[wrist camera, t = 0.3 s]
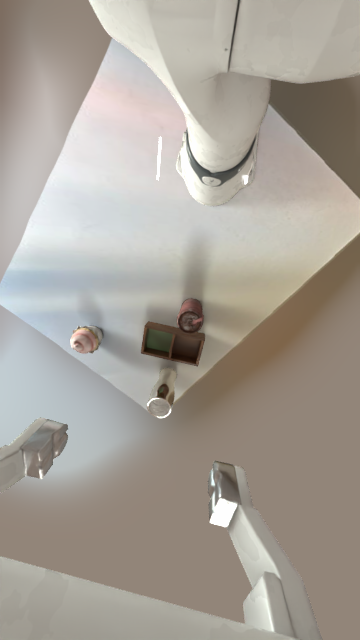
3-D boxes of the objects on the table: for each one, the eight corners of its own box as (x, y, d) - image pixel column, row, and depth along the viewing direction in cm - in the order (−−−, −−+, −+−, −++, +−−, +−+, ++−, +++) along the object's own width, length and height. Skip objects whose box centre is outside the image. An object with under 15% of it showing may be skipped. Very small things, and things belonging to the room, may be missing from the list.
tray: (148, 321, 57) (144, 325, 53) (204, 333, 57) (205, 339, 53) (144, 347, 60) (140, 353, 56) (197, 359, 59) (197, 366, 56)
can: (206, 311, 54) (208, 327, 41) (187, 320, 56) (184, 339, 43) (197, 294, 53) (196, 304, 40) (178, 303, 54) (171, 317, 41)
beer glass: (180, 369, 61) (174, 401, 47) (175, 385, 63) (168, 421, 49) (160, 363, 61) (148, 394, 47) (156, 380, 64) (144, 414, 49)
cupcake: (112, 333, 60) (96, 346, 50) (98, 351, 62) (80, 367, 53) (89, 315, 59) (68, 325, 49) (76, 334, 61) (53, 348, 52)
